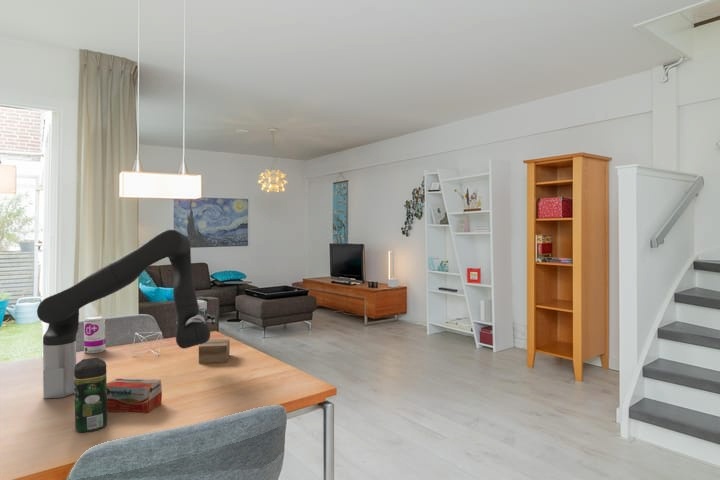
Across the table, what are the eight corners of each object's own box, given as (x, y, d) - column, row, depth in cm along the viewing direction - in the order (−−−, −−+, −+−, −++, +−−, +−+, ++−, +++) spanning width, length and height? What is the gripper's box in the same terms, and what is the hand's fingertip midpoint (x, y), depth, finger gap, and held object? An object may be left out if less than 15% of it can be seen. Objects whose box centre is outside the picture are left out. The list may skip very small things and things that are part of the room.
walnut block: (226, 362, 188) (226, 345, 188) (198, 363, 186) (198, 346, 186) (229, 354, 199) (229, 338, 199) (203, 355, 197) (203, 339, 197)
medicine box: (162, 403, 145) (162, 378, 145) (148, 414, 137) (148, 387, 137) (116, 402, 146) (116, 377, 146) (100, 412, 138) (100, 386, 138)
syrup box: (194, 340, 174) (194, 302, 174) (185, 338, 178) (185, 300, 178) (207, 337, 179) (207, 300, 179) (198, 335, 183) (198, 299, 182)
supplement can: (98, 353, 199) (98, 319, 198) (80, 353, 199) (79, 319, 199) (109, 348, 207) (108, 316, 207) (91, 348, 207) (90, 315, 207)
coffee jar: (74, 422, 130) (73, 358, 130) (106, 416, 134) (105, 354, 134) (74, 435, 122) (73, 367, 121) (108, 429, 126) (107, 362, 126)
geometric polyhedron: (136, 359, 191) (136, 338, 191) (127, 354, 199) (127, 333, 199) (166, 354, 200) (166, 333, 199) (157, 349, 208) (157, 329, 207)
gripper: (215, 313, 167) (215, 306, 182) (173, 315, 162) (177, 307, 178) (215, 334, 167) (215, 325, 182) (173, 336, 163) (177, 326, 178)
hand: (196, 316), depth 180 cm, fingers closed on syrup box, 8 cm apart
